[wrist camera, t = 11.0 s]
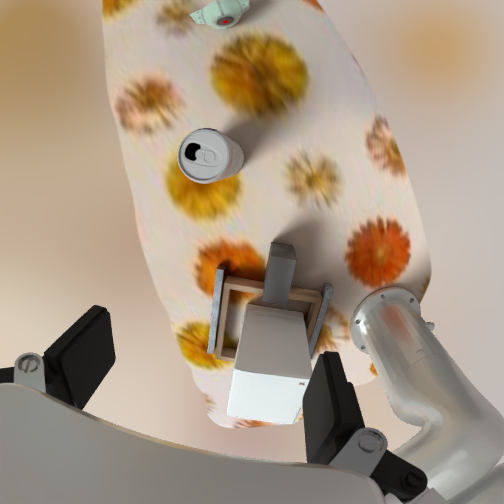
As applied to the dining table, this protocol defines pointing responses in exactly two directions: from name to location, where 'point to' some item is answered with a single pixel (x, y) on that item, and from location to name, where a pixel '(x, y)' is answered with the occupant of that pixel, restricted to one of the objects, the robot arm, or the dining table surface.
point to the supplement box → (270, 366)
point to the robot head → (221, 13)
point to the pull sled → (269, 293)
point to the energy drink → (209, 156)
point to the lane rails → (217, 301)
